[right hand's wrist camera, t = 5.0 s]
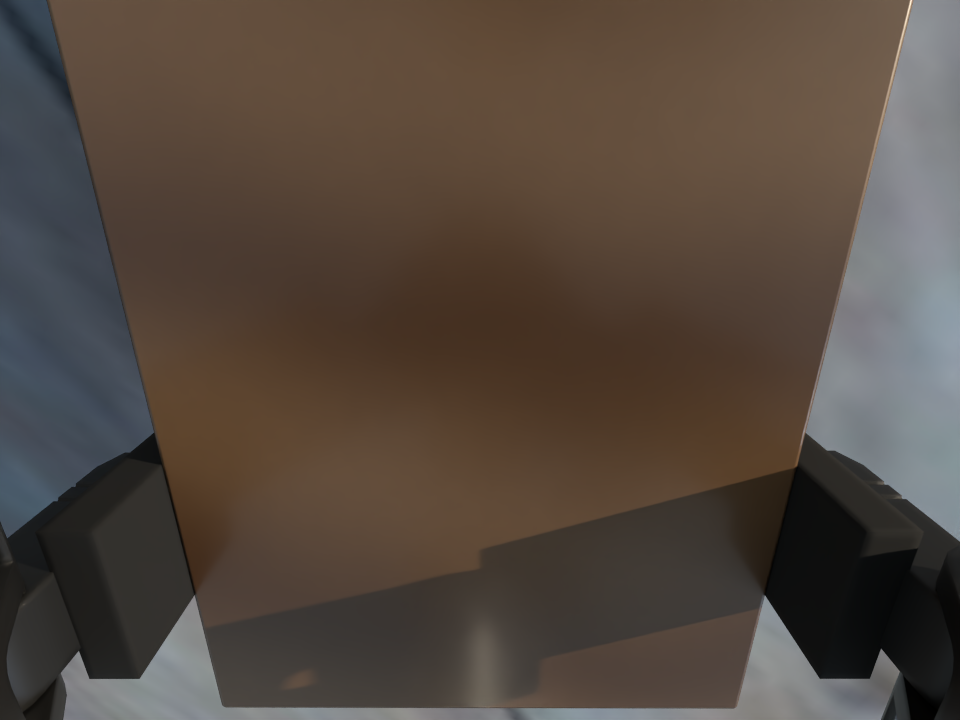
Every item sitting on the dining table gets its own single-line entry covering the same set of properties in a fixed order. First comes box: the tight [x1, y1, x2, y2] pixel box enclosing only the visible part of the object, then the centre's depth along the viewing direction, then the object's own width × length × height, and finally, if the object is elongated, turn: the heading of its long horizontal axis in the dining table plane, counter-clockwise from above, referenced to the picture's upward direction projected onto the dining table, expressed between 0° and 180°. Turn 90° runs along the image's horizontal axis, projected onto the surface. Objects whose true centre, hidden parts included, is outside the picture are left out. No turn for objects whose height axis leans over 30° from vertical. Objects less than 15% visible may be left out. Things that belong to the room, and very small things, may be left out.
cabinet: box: [47, 0, 913, 708], centre depth 12 cm, size 17×10×11 cm, turn 0°
